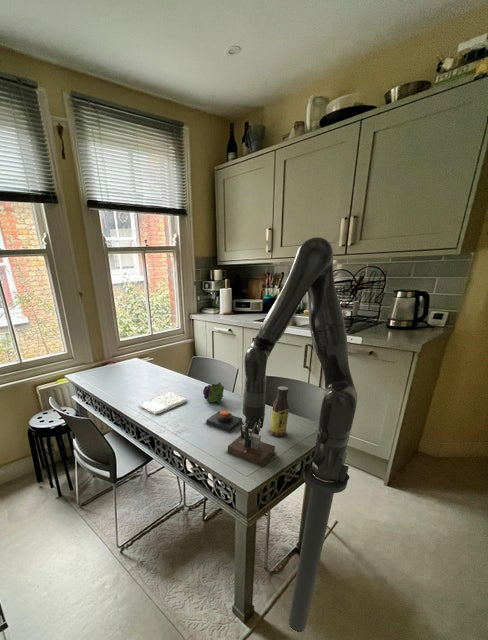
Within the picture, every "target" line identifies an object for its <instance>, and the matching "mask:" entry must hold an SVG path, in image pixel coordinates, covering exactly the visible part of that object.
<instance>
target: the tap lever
mask: <svg viewBox="0 0 488 640" xmlns="http://www.w3.org/2000/svg"><path fill="white" fill-rule="evenodd" d="M249 435H250V433H249ZM261 438H262V436H261V434H259V435H257V434H254V433H253V434H252V437H251V448H254V449H256V450H258V449H259V448H260V442H262V441H261V440H262V439H261ZM244 443H245V440H244V439H243V445H244Z"/></svg>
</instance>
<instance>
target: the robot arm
mask: <svg viewBox="0 0 488 640" xmlns="http://www.w3.org/2000/svg"><path fill="white" fill-rule="evenodd" d="M306 294H307V301H308V302H307V306H308V309H307V311H308V324H309V331H310V336H311V342H312V346H313V349H314V352H315V354H316V356H317V358H318V361H319V362H320V365H321V367H322V368H321V369H322V370H323V378H324V379H323V380H324V393H323V398H322V402H321V408H320V413H319V414H320V415H319V420H318V429H317V433H316V434H317V435H316V440H315V446H314V452H313V458H312V463H313V464H312V469H311V474H312V476H313V477H314V478H315V479H316V480H318V481H320V482H323V483H328V484H336V485H337V484H338V482H339V481H341V482H343V481H347V480H348V481H349V480H350V475H349V473H348V472H349V469H350V466H349V465H345V463H346V459H347V455H348V452H347V448H348V443H349V440H350V435H351V431H352V427H353V424H354V423H353V422H354V419H355V414H356V410H357V403H358V402H357V401H358V392H357V389H356V387H355V384H354V380H353V376H352V373H351V369H350V365H349V364H350V363H349V343H348V335H347V328H346V322H345V318H344V314H343V309H342V306H341V302H340V299H339V296H338V293H337V290H336V285H335V278H334V248H333V245H332V244H331V243H330V241H328V240H327V239H325V238H323V237H320V236H315V237H311V238H307V239H306V240H305V241H304V242H302V243H301V245H299V247H298V249H297V251H296V254H295V258H294V261H293V264H292V267H291V269H290V272H289V274H288V277H287V279H286V281H285V283H284V285H283V287H282V289H281V291H280V292H279V294H278V296H277V297H276V300H275V301H274V302H273V304H272V306H271V307H270V309H269V311H268V313H267V314H266V316H265V318H264V320H263V321H262V323H261V325H260V327H259V330H258V333H257V334H256V336H255V337H254V339H253V341H252V343H251V344H250V346H249V347H248V349H247V351H246V352H245V355H244V360H243V361H244V363H243V364H244V375H245V377H244V389H243V394H242V395H243V397H242V415H243V416H244V417H245V420H244V424H240V425H239V429H240V435H241V439H244V440H245V443H244V446H245V447H246V448H250V447H251V437H252V434H253V433H254V434H257V435H260V432H261V429H263V428H264V422H265V421H264V420H265V416H266V400H267V374H266V373H267V364H268V360H269V357H270V356H271V353H272V352H273V349H274V348H275V346H276V345H277V343H278V342H279V341H280V340H281V338H282V337H283V335H284V333H285V332H286V330H287V328H288V327H289V325H290V323H291V321H292V320H293V317H294V316H295V314H296V312H297V310H298V308H299V306H300V304H301V302H302V300H303V299H304V298H305V295H306ZM249 433H250V435H249ZM345 477H346V478H345Z"/></svg>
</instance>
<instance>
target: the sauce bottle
mask: <svg viewBox="0 0 488 640" xmlns="http://www.w3.org/2000/svg"><path fill="white" fill-rule="evenodd" d="M276 391H277V393H276V399H275V400H274V401H273V403H272V409H271V417H270V425H269V432H270V434H271V435H273V436H275V437H282V436H284V435H285V434H286V431H287V425H288V418H289V410H290V406H289V401H288V394H289V387H287V386H285V385H282V386H277V390H276Z"/></svg>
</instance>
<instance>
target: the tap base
mask: <svg viewBox="0 0 488 640" xmlns="http://www.w3.org/2000/svg"><path fill="white" fill-rule="evenodd" d="M275 450H276V446H275V445H273V444H270V443H267V442H264V441H261V442H260V448H259V449H258V450H256V449H254V448H251V447H250V448H246V447H245V446H244V445H243V439H241V434H240V435H239V436H238V437H237V438H235V440H233V441H232V442H231V443H230V444H228V446H227V453H228V454H230V455H233V456H235V457H237V458H239V459H243V460H245V461H247V462H250V463H251V464H254V465H256V466H257V465H258V466H260V467H263V466H264V465H265V464H266V463H267V462H268V461H269V460H270V458H272V457H273V455H274V454H275V452H276V451H275Z"/></svg>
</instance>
